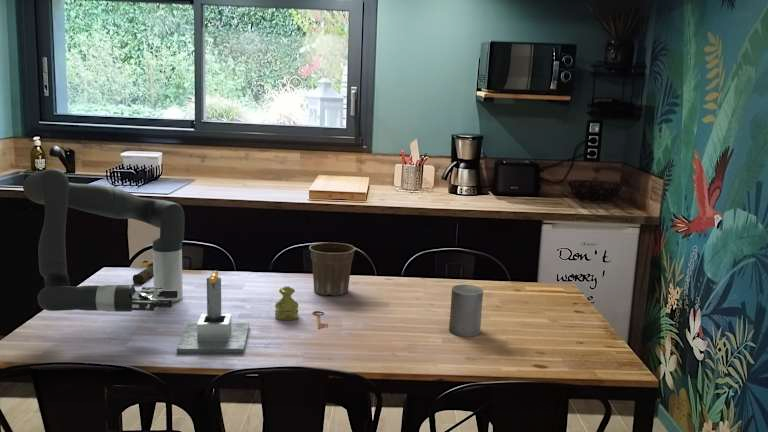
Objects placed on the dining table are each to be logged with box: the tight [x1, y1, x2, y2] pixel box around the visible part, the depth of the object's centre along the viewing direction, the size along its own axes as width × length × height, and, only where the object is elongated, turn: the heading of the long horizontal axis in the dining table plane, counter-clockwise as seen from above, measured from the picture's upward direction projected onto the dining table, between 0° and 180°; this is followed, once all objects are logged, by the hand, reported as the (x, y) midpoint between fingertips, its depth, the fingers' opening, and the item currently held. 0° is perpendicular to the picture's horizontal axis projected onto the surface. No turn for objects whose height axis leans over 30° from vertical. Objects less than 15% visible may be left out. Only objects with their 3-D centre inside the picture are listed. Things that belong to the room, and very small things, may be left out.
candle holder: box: [176, 313, 250, 355], centre depth 210 cm, size 20×18×6 cm
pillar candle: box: [448, 284, 484, 338], centre depth 224 cm, size 10×10×15 cm
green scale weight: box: [274, 285, 299, 322], centre depth 232 cm, size 7×7×10 cm
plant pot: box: [308, 242, 356, 297], centre depth 259 cm, size 16×16×16 cm
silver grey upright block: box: [206, 270, 222, 322], centre depth 209 cm, size 9×4×18 cm, turn 6°
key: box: [312, 310, 330, 330], centre depth 231 cm, size 6×1×15 cm
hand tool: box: [132, 261, 154, 285], centre depth 268 cm, size 19×4×5 cm, turn 171°
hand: (174, 298), depth 207 cm, fingers open, 8 cm apart
